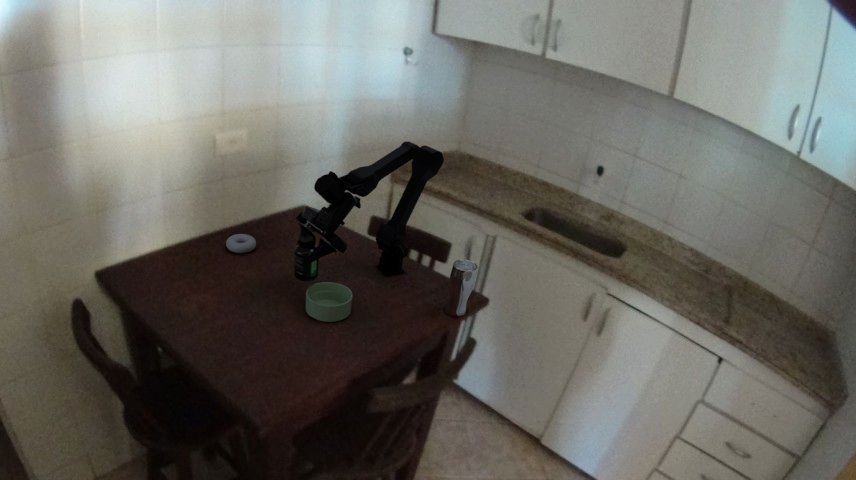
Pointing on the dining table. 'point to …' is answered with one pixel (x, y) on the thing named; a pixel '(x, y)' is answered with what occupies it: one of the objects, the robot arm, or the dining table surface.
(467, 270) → the beer glass
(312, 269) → the supplement bottle
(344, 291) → the green round bowl
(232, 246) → the donut
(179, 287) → the dining table surface
